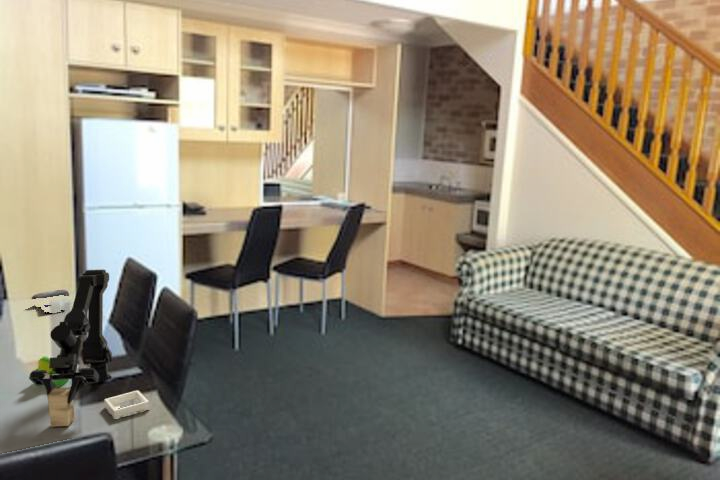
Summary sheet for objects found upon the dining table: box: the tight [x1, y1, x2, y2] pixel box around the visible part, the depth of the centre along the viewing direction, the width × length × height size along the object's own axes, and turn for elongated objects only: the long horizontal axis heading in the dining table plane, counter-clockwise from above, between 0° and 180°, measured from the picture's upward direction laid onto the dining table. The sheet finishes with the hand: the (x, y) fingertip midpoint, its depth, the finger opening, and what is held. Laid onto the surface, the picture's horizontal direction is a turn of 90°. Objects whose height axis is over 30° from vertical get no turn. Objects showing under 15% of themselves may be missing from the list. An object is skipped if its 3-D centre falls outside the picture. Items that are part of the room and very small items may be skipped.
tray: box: [104, 389, 150, 419], centre depth 187 cm, size 11×11×3 cm
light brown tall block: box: [47, 386, 76, 427], centre depth 177 cm, size 5×5×10 cm
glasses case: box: [30, 289, 70, 300], centre depth 302 cm, size 18×10×8 cm, turn 136°
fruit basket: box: [35, 356, 69, 388], centre depth 205 cm, size 11×9×11 cm
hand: (59, 403), depth 175 cm, fingers closed on light brown tall block, 5 cm apart
